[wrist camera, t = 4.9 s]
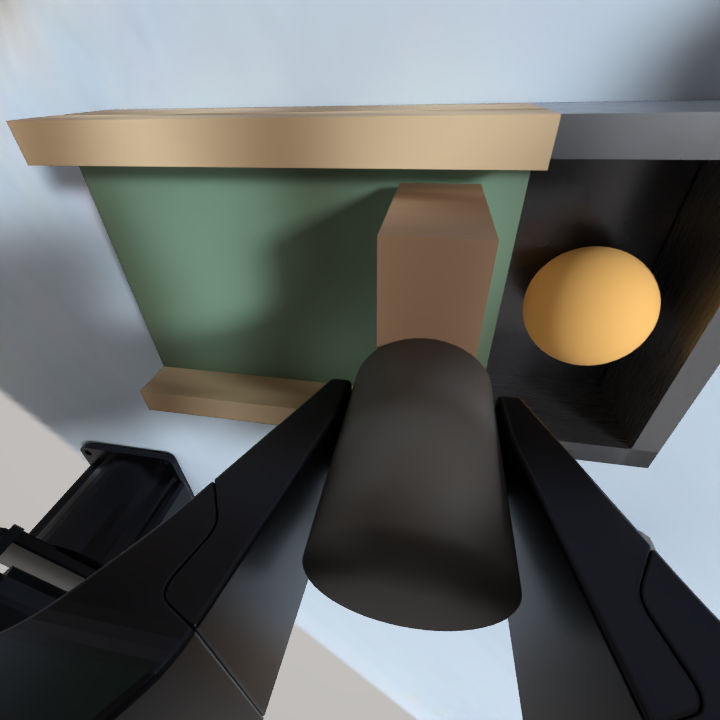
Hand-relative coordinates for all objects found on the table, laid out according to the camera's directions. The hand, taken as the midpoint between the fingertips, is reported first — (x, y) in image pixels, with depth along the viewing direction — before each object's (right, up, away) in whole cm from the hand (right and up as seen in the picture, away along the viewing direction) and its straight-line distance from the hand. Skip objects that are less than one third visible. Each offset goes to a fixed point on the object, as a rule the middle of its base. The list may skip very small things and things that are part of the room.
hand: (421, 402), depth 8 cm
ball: (+7, +2, +2) cm, 7 cm away
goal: (+6, +4, +5) cm, 8 cm away
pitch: (-3, +4, +6) cm, 8 cm away
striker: (+1, +3, +4) cm, 5 cm away
